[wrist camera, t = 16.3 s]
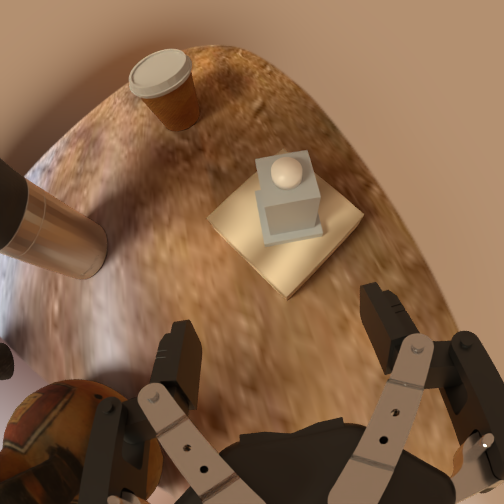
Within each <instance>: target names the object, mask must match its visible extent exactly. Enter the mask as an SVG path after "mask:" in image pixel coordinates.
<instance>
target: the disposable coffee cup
mask: <svg viewBox="0 0 504 504" xmlns="http://www.w3.org/2000/svg"><path fill="white" fill-rule="evenodd" d="M191 68H192V61H191V59H190V58H189V56H187V55H185V54H184V53H183V52H182V51H181V50H178V49H165V50H161V51H158V52H155V53H153V54H151V55H149V56H147V57H145V58H144V59H142V60H141V61H140V62H139V63H138V64H137V65H136V66H135V67H134V68H133V69H132V71H131V73H130V76H129V82H130V84H129V87H130V90H131V92H132V93H133V94H135V95H136V96H138V97H140V98H141V99H142V100H143V102H144V103H145V104H146V105H147V106H148V107H149V108H150V109H151V111H152V112H153V113H154V114H155V115H156V116H157V117H158V118H159V119H160V121H161V122H162V123H163V124H164V125H165V126H166V128H168V129H169V130H171V131H181V130H185V129H187V128H189V127H191V126H192V125H193V124H194V123H195V122H196V121H197V120H198V118H199V116H200V110H199V105H198V101H197V96H196V92H195V87H194V82H193V78H192V73H191Z"/></svg>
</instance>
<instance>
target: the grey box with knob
mask: <svg viewBox="0 0 504 504" xmlns="http://www.w3.org/2000/svg"><path fill="white" fill-rule="evenodd" d="M255 163H256V168H257V173H258V178H259V183H260V188H261V190H257V191H255V196H256V201H257V207H258V212H259V218H260V223H261V229H262V234H263V240H264V245H265V247H269V246H274V245H279V244H285V243H290V242H295V241H301V240H306V239H311V238H317V237H322V235H323V231H322V227H321V223H320V218H319V214H318V208H319V203H320V199H321V196H320V192H319V188H318V185H317V181H316V178H315V174H314V171H313V167H312V164H311V161H310V157H309V154H308V151H307V150H304V151H298V152H292V153H286V154H280V155H275V156H269V157H264V158H259V159H255Z"/></svg>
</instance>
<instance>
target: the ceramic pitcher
mask: <svg viewBox="0 0 504 504" xmlns="http://www.w3.org/2000/svg"><path fill="white" fill-rule="evenodd" d="M107 397H117V398H118V399H119V400H120V401H121V402H124V401H127V399H126V398H125V397H124V396H122V395H121V394H119V393H118V392H116V391H115V390H113V389H111V388H110V387H107V386H105V385H103V384H100V383H97V382H94V381H88V380H79V379H74V380H64V381H59V382H54V383H52V384H50V385H47V386H45V387H43V388H41V389H39V390H37V391H36V392H34V393H32V394H31V395H29V396H28V397H27V398H26V399H25V400H24V401H23V402H22V403H21V404H20V405H19V406H18V407H17V408H16V409H15V411H14V413H13V415H12V416H11V418H10V420H9V422H8V424H7V427H6V430H5V433H4V439H3V449H2V450H1V452H0V504H78V498H79V492H80V485H81V479H82V473H83V468H84V463H85V457H86V452H87V448H88V443H89V438H90V434H91V429H92V425H93V421H94V417H95V413H96V409H97V406H98V404H99V403H100V402H101V401H102V400H103V399H105V398H107ZM162 464H163V455H162V453H161V449H160V445H159V443H158V440H157V438H153V439H151V440H150V451H149V462H148V474H147V489H146V500H147V499H148V498H149V497H150V496H151V494H152V493H153V492H154V491H155V489H156V487H157V485H158V483H159V480H160V477H161V473H162Z"/></svg>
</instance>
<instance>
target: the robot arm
mask: <svg viewBox="0 0 504 504" xmlns="http://www.w3.org/2000/svg"><path fill="white" fill-rule="evenodd" d="M0 253H1V254H3V255H6V256H9V257H12V258H15V259H18V260H20V261H23V262H26V263H29V264H32V265H35V266H38V267H41V268H44V269H47V270H50V271H53V272H56V273H60V274H63V275H66V276H69V277H73V278H76V279H80V280H82V279H87V278H90V277H91V276H93V275H94V274H95V273H96V272H97V271H98V270H99V269H100V267H101V266H102V264H103V262H104V260H105V257H106V253H107V237H106V234H105V231H104V230H103V228H102V227H101V226H100V225H98V224H97V223H95V222H94V221H92V220H90V219H89V218H87V217H85V216H84V215H82V214H81V213H79V212H78V211H76V210H74V209H73V208H71V207H69V206H68V205H66V204H65V203H63V202H62V201H60V200H58V199H57V198H55V197H54V196H52V195H51V194H49V193H47V192H46V191H44V190H43V189H41V188H40V187H38V186H36V185H35V184H33V183H32V182H30V181H29V180H27V179H26V178H24V177H23V176H21V175H20V174H19V173H17V172H16V171H14V170H13V169H12V168H11V167H10V166H9V165H7V164H6V163H5V162H4V161H3V160H1V159H0ZM360 316H361V320H362V323H363V325H364V327H365V330H366V332H367V334H368V336H369V339H370V341H371V343H372V346H373V348H374V350H375V353H376V355H377V357H378V360H379V362H380V364H381V367H382V369H383V372H384V374H385V375H387V374H390V373H391V376H390V378H389V379H388V380H387V382H386V385H385V387H384V390H383V392H382V394H381V397H380V399H379V401H378V404H377V406H376V408H375V411H374V413H373V415H372V417H371V419H370V421H369V423H368V426H367V427H366V426H362V425H359V424H353V423H344V422H343V418H342V417H340V418H336V419H332V420H327V421H323V422H318V423H315V424H313V425H311V426H309V427H306V428H304V429H302V430H299V431H297V432H294V433H274V432H259V433H251V434H241V435H240V441H239V442H236V443H234V444H232V445H230V446H228V447H226V448H225V449H224V450H222V451H221V452H220V453H218V452H217V451H216V450H215V449H214V447H213V446H212V445H211V444H210V443H209V442H208V441H207V439H206V438H205V437H204V436H203V435H202V433H201V432H200V431H199V430H198V429H197V427H196V426H195V425H194V424H193V422H192V421H191V420H190V419H189V417H188V411H189V410H194V409H197V400H198V390H199V380H200V370H201V361H202V346H201V342H200V340H199V338H198V336H197V334H196V332H195V330H194V327H193V325H192V323H191V321H190V320H183V321H177V322H173V325H172V329H171V333H168V334H165V335H164V337H163V338H162V339H161V341H160V343H159V347H158V352H157V355H156V359H155V363H154V367H153V371H152V375H151V379H150V383H149V384H148V385H146V386H145V387H143V388H142V389H141V391H140V392H139V394H138V397H136V398H133V399H130V400H127V401H124V402H121V401H120V400H119V399H118V398H117V397H107V398H105V399H103V400H102V401H101V402H100V403H99V404H98V406H97V409H96V413H95V417H94V421H93V425H92V429H91V434H90V438H89V443H88V448H87V452H86V457H85V463H84V468H83V473H82V479H81V485H80V492H79V498H78V504H150V503H149V502H148V501H146V489H147V474H148V462H149V451H150V440H151V439H153V438H157V439H158V440H159V442H160V443H161V445H162V446H163V448H164V449H165V451H166V452H167V454H168V455H169V457H170V458H171V460H172V461H173V463H174V464H175V465H176V467H177V468H178V470H179V471H180V472H181V474H182V475H183V476H184V478H185V479H186V480H187V482H188V483H189V484H190V487H189V488H188V489H187V490H186V492H185V493H184V494H183V495H182V496H181V497H180V498H179V499H178V500H177V501H176V502H175V503H174V504H457V503H459V502H461V501H463V500H465V499H467V498H469V497H471V496H473V495H475V494H477V493H486V492H489V491H491V490H492V489H494V488H496V487H497V486H499V485H500V484H502V483H504V382H503V381H502V379H501V377H500V375H499V373H498V371H497V369H496V367H495V366H494V364H493V362H492V360H491V359H490V357H489V355H488V353H487V352H486V350H485V348H484V347H483V345H482V343H481V342H480V340H479V338H478V337H477V336H476V335H475V334H474V333H472V332H469V331H460V332H457V333H456V334H455V335H454V336H453V338H452V340H451V341H432V340H431V339H430V338H429V337H428V336H426V335H424V334H420V333H419V331H418V329H417V328H416V326H415V324H414V323H413V321H412V319H411V318H410V316H409V315H408V313H407V311H405V308H404V306H403V305H402V304H401V302H400V300H399V299H398V297H397V296H396V295H395V294H393V293H392V292H391V291H389V290H386V291H383V292H382V290H381V289H380V287H379V285H378V284H377V283H376V282H373V283H369V284H365V285H361V286H360ZM430 388H439V390H440V393H441V395H442V398H443V400H444V403H445V405H446V408H447V410H448V413H449V416H450V418H451V421H452V424H453V427H454V429H455V432H456V435H457V438H458V441H459V444H460V447H459V448H458V450H457V451H456V452H455V454H454V458H453V465H454V470H453V474H452V476H451V477H449V476H448V475H447V474H445V473H444V472H442V471H440V470H439V469H437V468H435V467H433V466H431V465H430V464H428V463H426V462H424V461H423V460H421V459H419V458H417V457H416V456H414V455H412V454H411V453H409V452H407V451H406V450H404V449H403V448H404V445H405V443H406V440H407V438H408V435H409V432H410V430H411V427H412V424H413V422H414V419H415V416H416V413H417V410H418V407H419V404H420V401H421V398H422V394H423V391H424V389H430Z"/></svg>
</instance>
